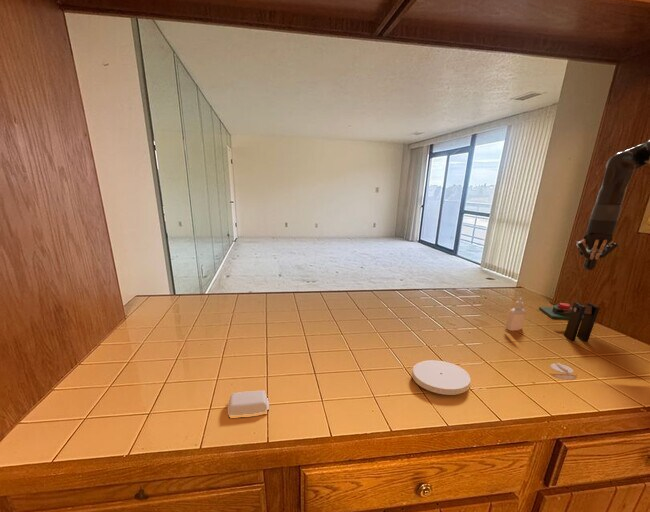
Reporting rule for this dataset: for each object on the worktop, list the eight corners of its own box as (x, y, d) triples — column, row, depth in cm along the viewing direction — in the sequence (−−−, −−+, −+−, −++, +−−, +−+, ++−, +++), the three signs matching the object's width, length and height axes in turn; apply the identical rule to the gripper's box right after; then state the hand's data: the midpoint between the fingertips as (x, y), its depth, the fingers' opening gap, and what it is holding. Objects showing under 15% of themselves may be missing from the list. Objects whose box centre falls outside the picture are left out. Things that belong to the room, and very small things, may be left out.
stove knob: (565, 366, 97) (567, 359, 96) (583, 380, 90) (585, 373, 90) (539, 365, 97) (541, 359, 96) (555, 379, 90) (557, 373, 89)
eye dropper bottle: (523, 334, 116) (532, 301, 111) (505, 333, 117) (513, 299, 112) (519, 329, 120) (527, 296, 115) (501, 328, 121) (509, 295, 116)
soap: (268, 396, 81) (267, 386, 80) (270, 415, 75) (269, 403, 74) (228, 400, 79) (227, 390, 78) (227, 420, 73) (225, 408, 72)
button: (565, 307, 132) (567, 302, 131) (571, 310, 128) (572, 306, 128) (555, 306, 132) (557, 302, 131) (561, 310, 128) (562, 305, 128)
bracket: (553, 334, 117) (564, 298, 112) (578, 336, 116) (590, 300, 111) (570, 348, 107) (582, 309, 103) (597, 349, 107) (611, 311, 102)
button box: (569, 313, 136) (572, 304, 134) (585, 323, 126) (588, 313, 125) (538, 312, 136) (540, 302, 135) (550, 321, 127) (553, 311, 126)
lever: (554, 314, 119) (554, 307, 119) (569, 315, 119) (569, 308, 119) (579, 313, 106) (579, 305, 106) (596, 314, 106) (596, 306, 106)
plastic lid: (431, 363, 97) (432, 355, 96) (479, 384, 88) (481, 375, 87) (400, 380, 89) (401, 371, 88) (450, 405, 79) (452, 396, 78)
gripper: (589, 219, 112) (574, 271, 118) (633, 220, 111) (615, 272, 117) (576, 216, 119) (562, 266, 125) (617, 217, 117) (601, 267, 124)
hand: (588, 269), depth 121 cm, fingers closed
